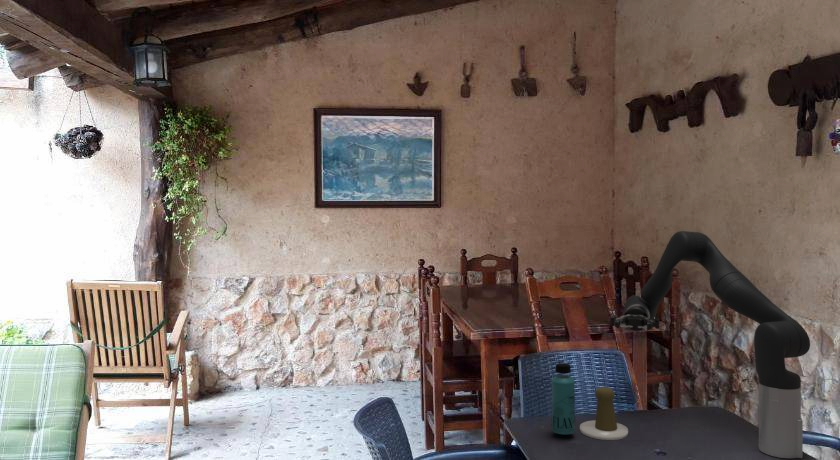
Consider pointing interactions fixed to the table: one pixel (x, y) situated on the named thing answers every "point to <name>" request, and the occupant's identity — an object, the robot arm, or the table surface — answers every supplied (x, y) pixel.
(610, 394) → the cork
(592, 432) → the saucer
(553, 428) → the beverage bottle
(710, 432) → the table surface
